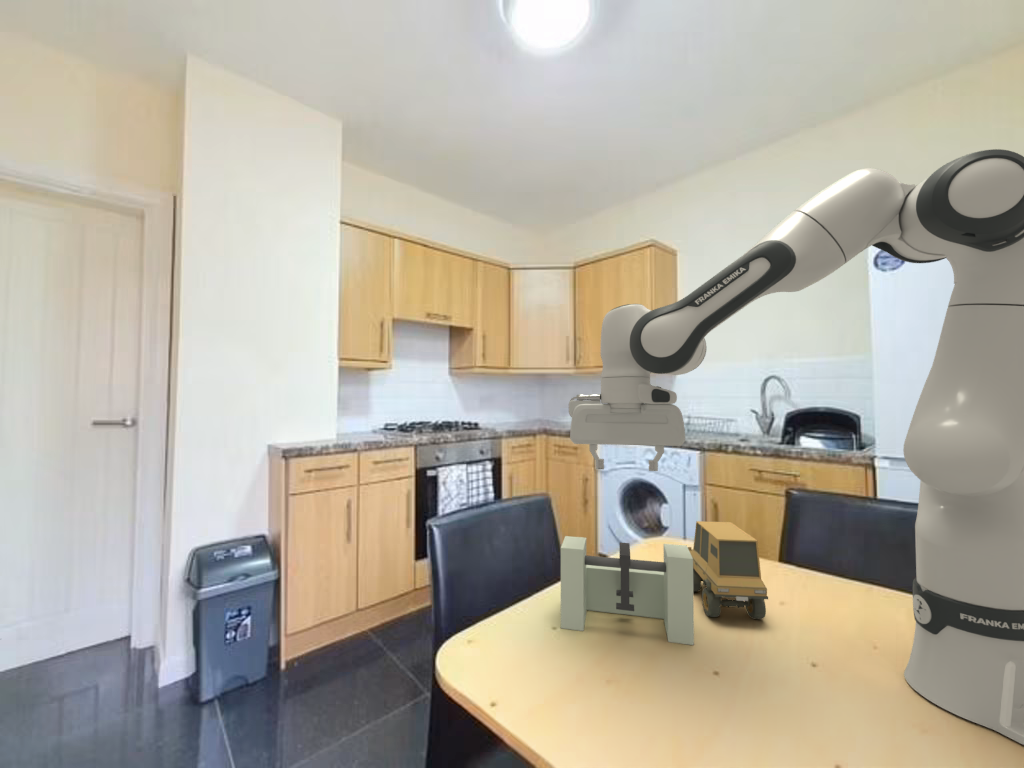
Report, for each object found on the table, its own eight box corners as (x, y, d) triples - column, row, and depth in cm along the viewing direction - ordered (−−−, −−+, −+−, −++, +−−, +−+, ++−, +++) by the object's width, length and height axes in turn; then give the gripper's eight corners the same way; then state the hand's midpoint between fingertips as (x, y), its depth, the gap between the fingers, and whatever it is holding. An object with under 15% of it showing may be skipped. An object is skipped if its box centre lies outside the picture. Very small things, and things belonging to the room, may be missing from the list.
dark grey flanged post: (633, 594, 82) (632, 543, 82) (634, 611, 75) (633, 556, 75) (616, 592, 82) (616, 542, 83) (616, 609, 76) (616, 554, 76)
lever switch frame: (685, 616, 82) (684, 540, 83) (693, 645, 73) (692, 558, 73) (567, 602, 87) (567, 531, 88) (560, 628, 78) (560, 547, 78)
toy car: (730, 585, 97) (729, 516, 97) (773, 630, 78) (771, 544, 78) (681, 583, 98) (681, 514, 98) (712, 626, 79) (711, 541, 79)
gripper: (566, 394, 80) (567, 470, 80) (686, 393, 76) (687, 474, 75) (570, 394, 86) (570, 465, 86) (680, 394, 82) (682, 469, 81)
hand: (626, 469), depth 80 cm, fingers open, 8 cm apart
